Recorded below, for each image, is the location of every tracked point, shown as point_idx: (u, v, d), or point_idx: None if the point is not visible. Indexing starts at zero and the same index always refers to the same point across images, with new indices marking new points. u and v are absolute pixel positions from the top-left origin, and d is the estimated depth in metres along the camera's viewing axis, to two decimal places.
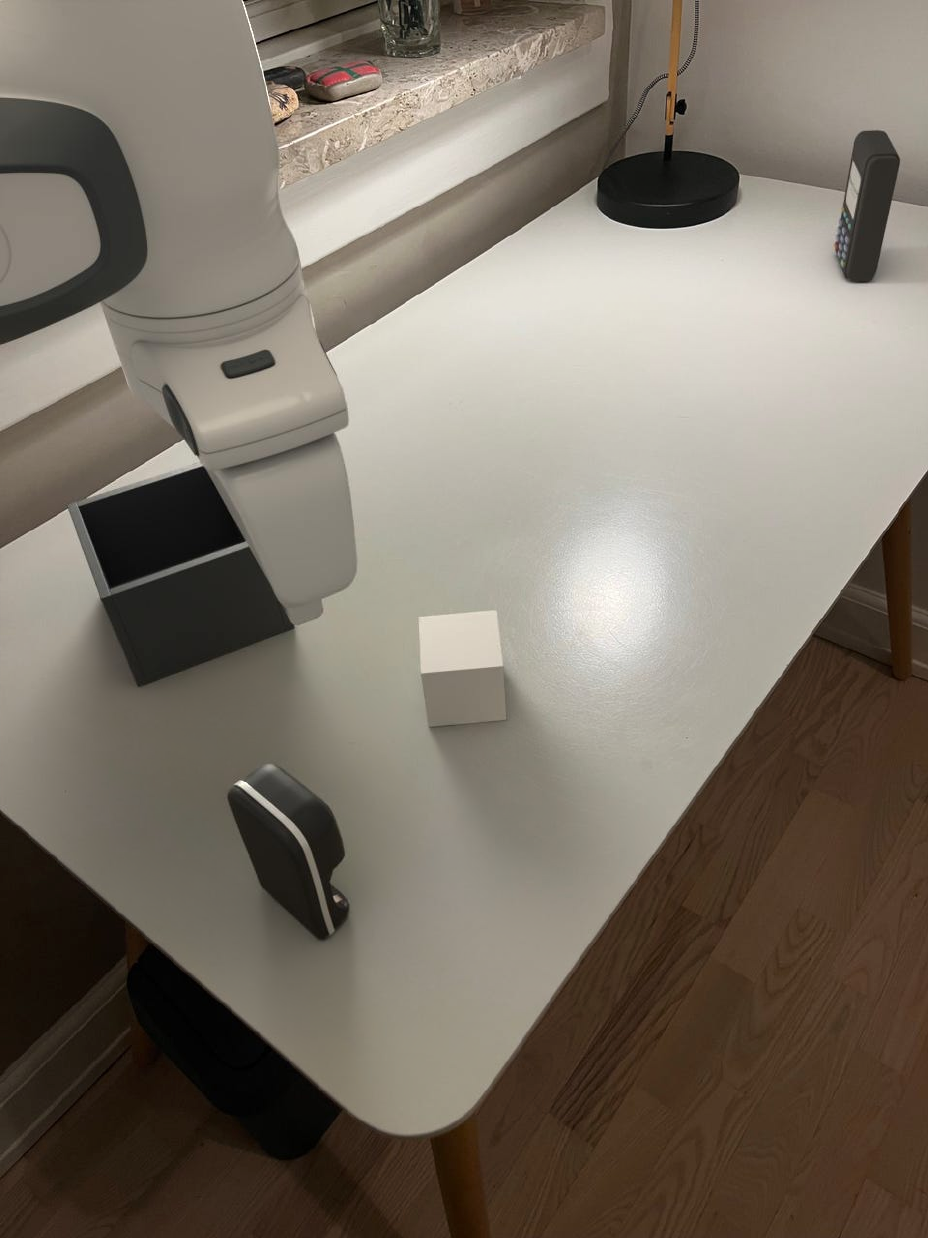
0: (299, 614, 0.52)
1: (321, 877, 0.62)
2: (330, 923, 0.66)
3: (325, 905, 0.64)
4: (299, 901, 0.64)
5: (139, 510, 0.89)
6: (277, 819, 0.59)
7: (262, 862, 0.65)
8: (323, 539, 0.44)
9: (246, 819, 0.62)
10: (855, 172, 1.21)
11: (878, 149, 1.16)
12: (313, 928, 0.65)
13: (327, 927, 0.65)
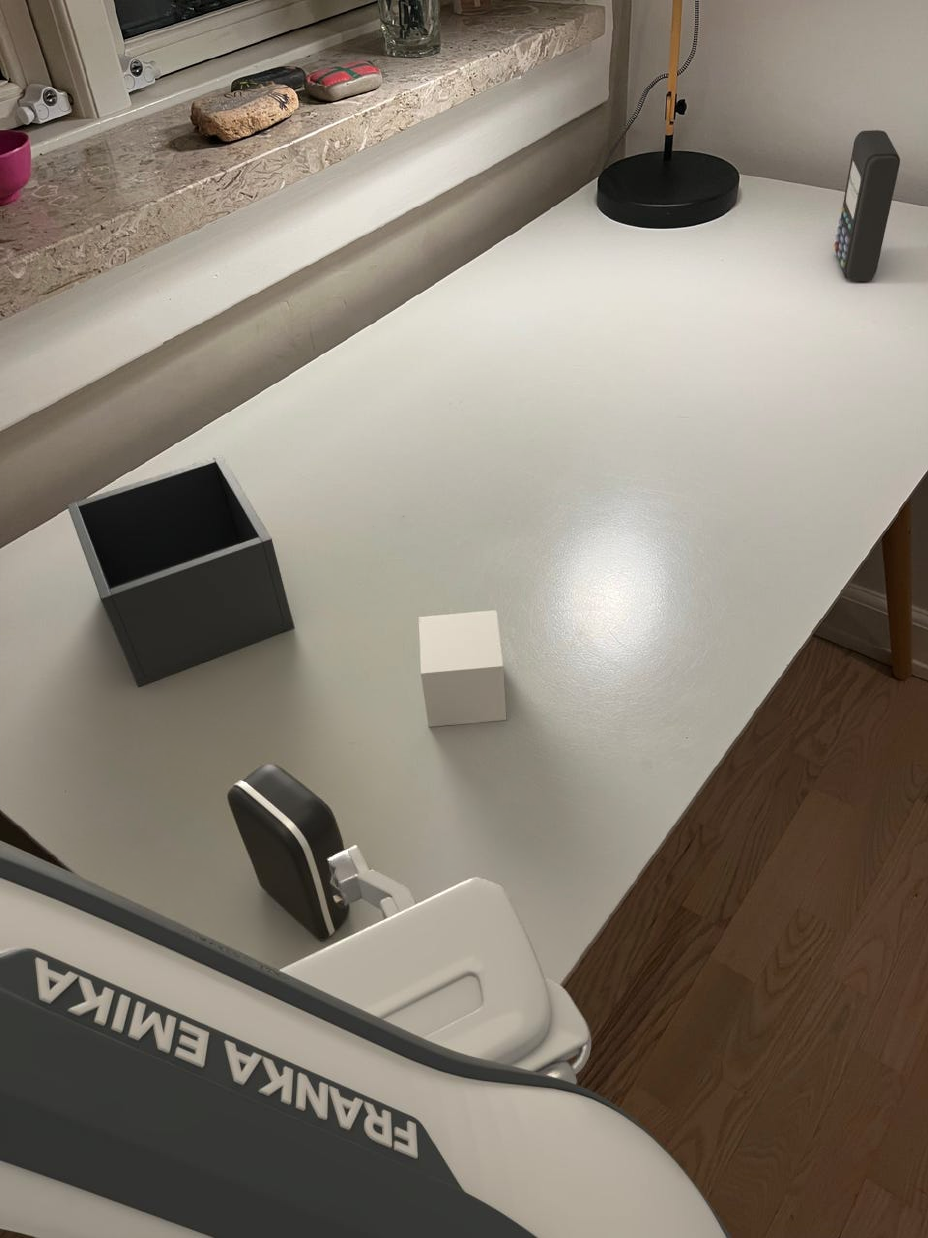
0: None
1: (321, 877, 0.62)
2: (330, 923, 0.66)
3: (325, 905, 0.64)
4: (299, 901, 0.64)
5: (139, 510, 0.89)
6: (277, 819, 0.59)
7: (262, 862, 0.65)
8: None
9: (246, 819, 0.62)
10: (855, 172, 1.21)
11: (878, 149, 1.16)
12: (313, 928, 0.65)
13: (327, 927, 0.65)
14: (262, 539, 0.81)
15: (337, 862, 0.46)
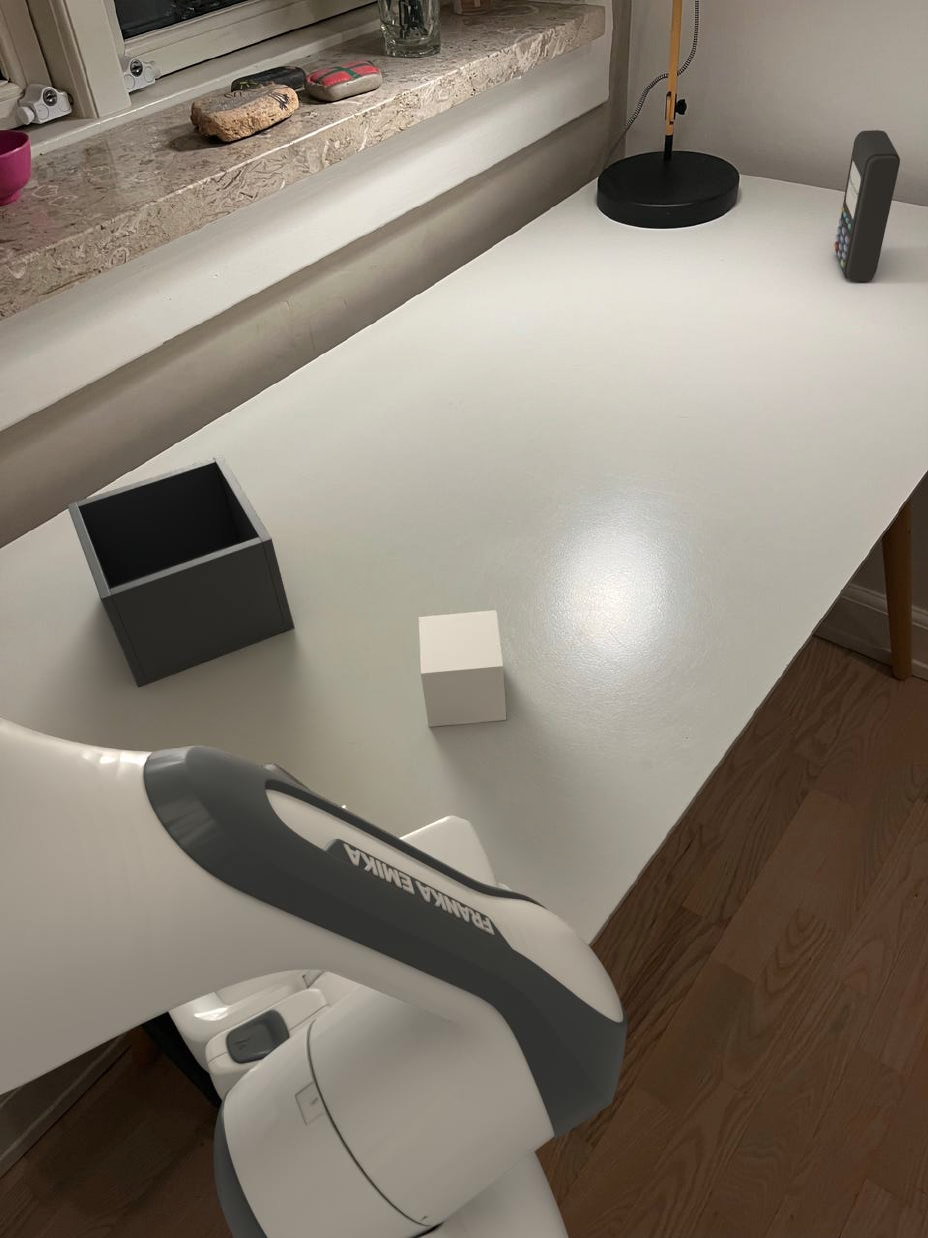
0: None
1: None
2: None
3: None
4: None
5: (139, 510, 0.89)
6: None
7: None
8: None
9: None
10: (855, 172, 1.21)
11: (878, 149, 1.16)
12: None
13: None
14: (262, 539, 0.81)
15: None
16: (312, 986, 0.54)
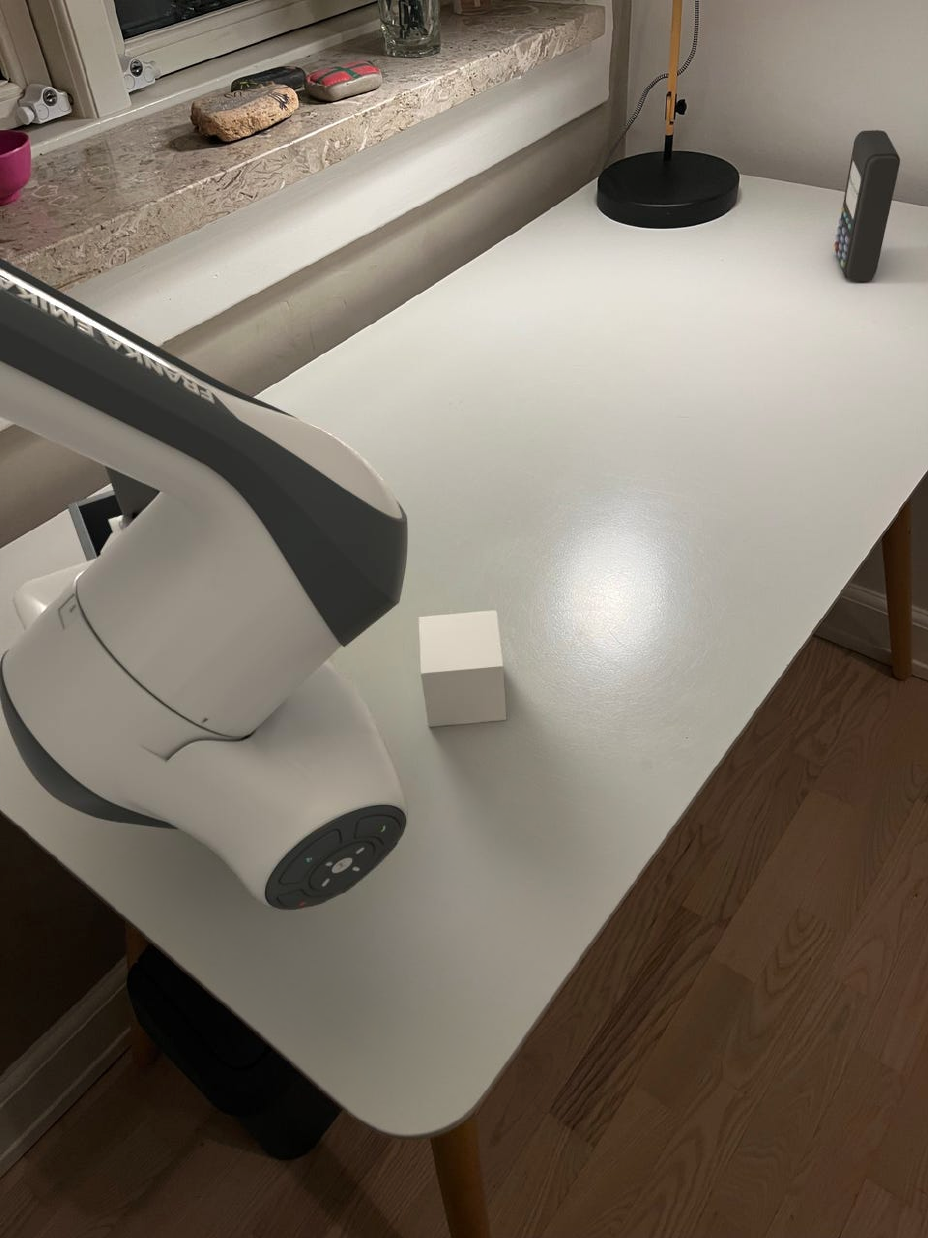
0: None
1: None
2: None
3: None
4: None
5: None
6: None
7: None
8: None
9: (120, 476, 0.61)
10: (855, 172, 1.21)
11: (878, 149, 1.16)
12: None
13: None
14: None
15: None
16: None
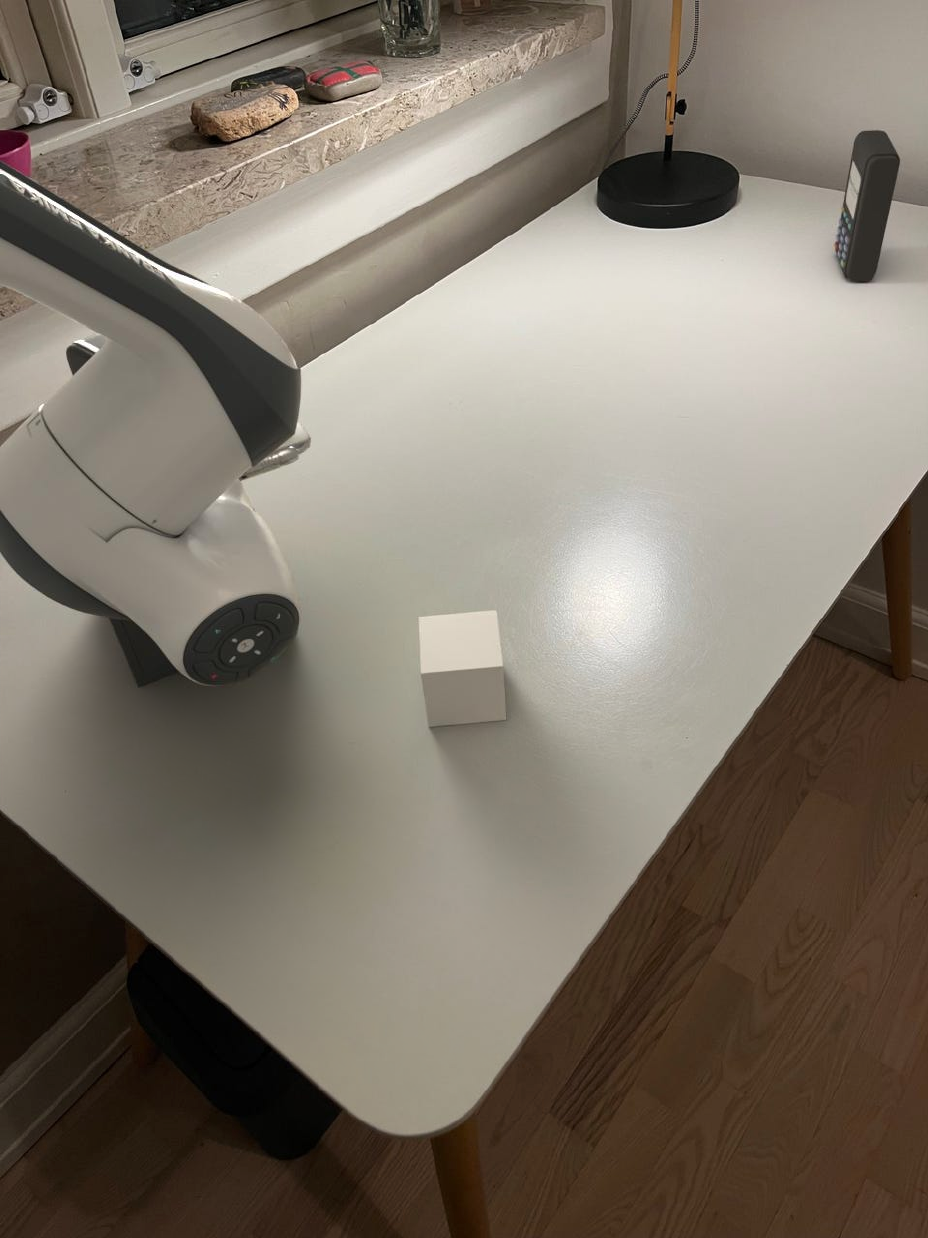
0: None
1: None
2: None
3: None
4: None
5: None
6: None
7: None
8: None
9: None
10: (855, 172, 1.21)
11: (878, 149, 1.16)
12: None
13: None
14: None
15: None
16: None
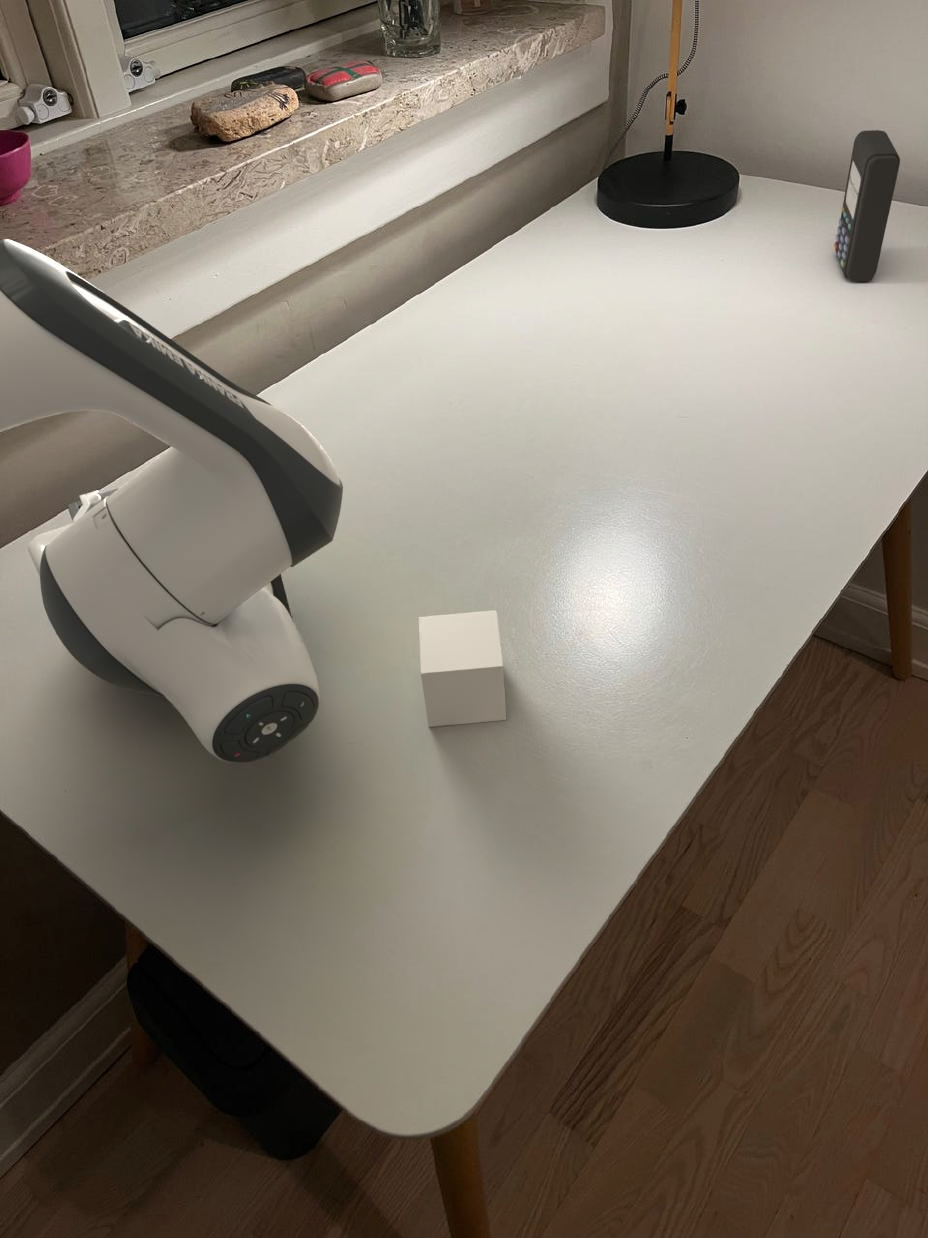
0: None
1: None
2: None
3: None
4: None
5: None
6: None
7: None
8: None
9: None
10: (855, 172, 1.21)
11: (878, 149, 1.16)
12: None
13: None
14: None
15: None
16: None
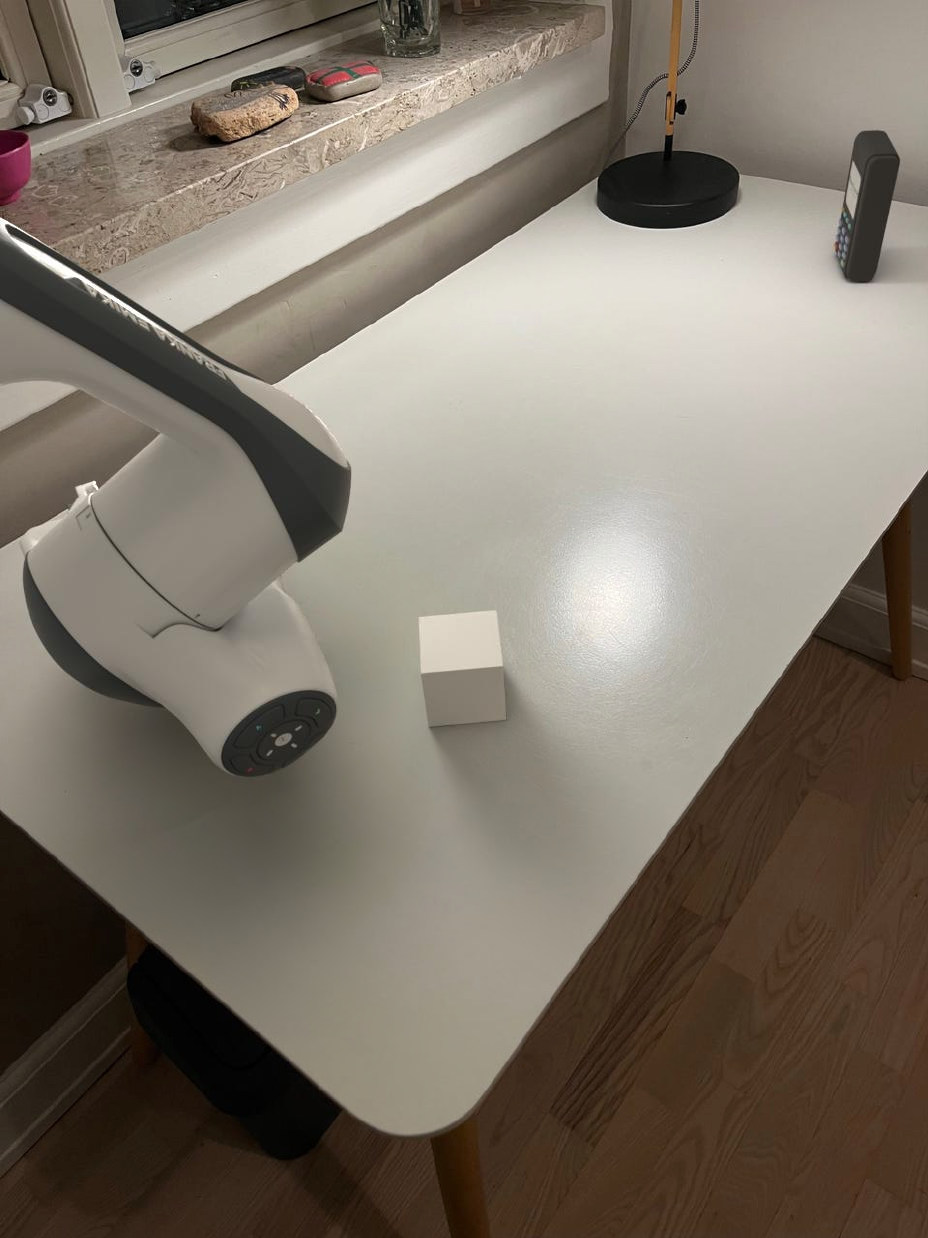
0: None
1: None
2: None
3: None
4: None
5: None
6: None
7: None
8: None
9: None
10: (855, 172, 1.21)
11: (878, 149, 1.16)
12: None
13: None
14: None
15: None
16: None
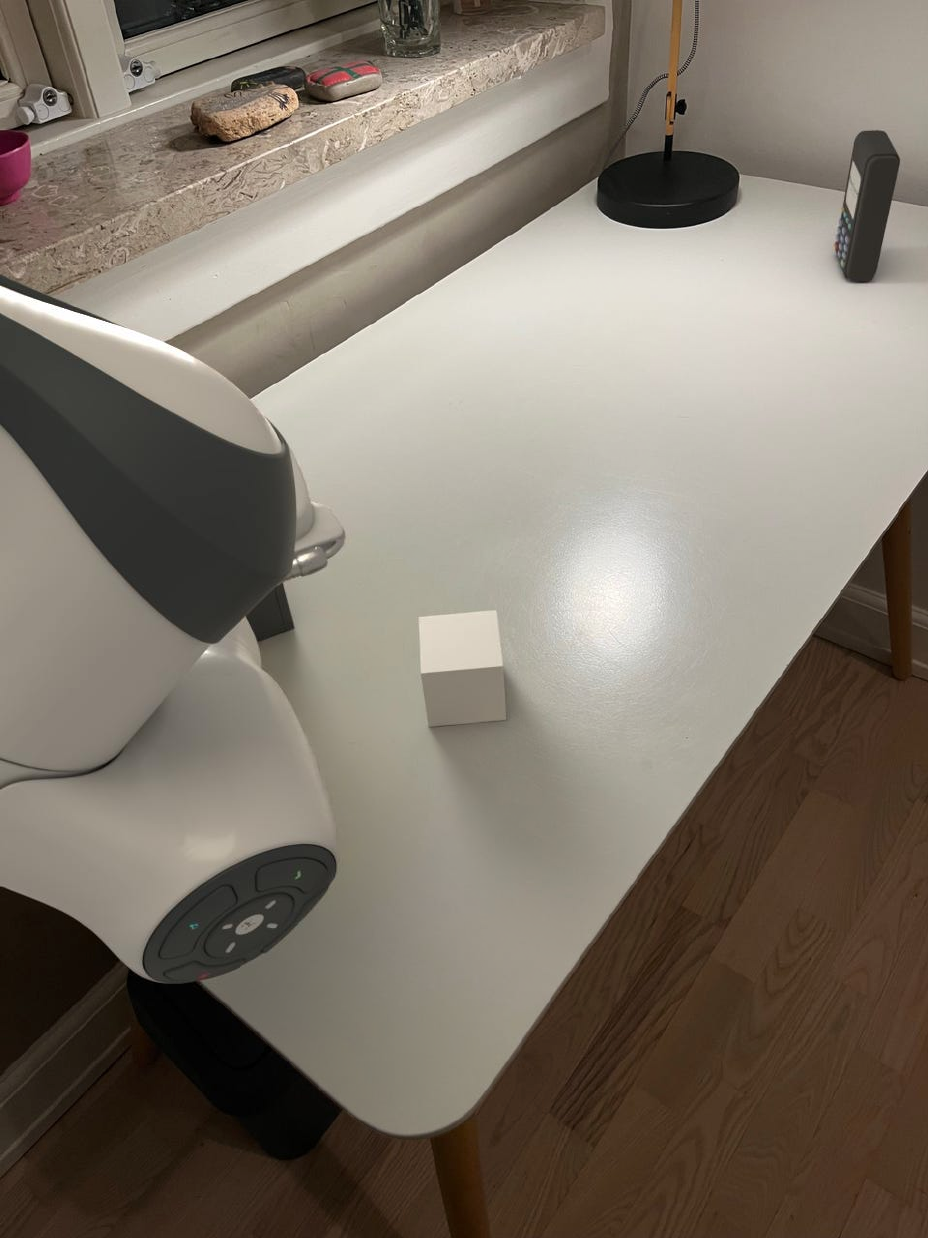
0: None
1: None
2: None
3: None
4: None
5: None
6: None
7: None
8: None
9: None
10: (855, 172, 1.21)
11: (878, 149, 1.16)
12: None
13: None
14: None
15: None
16: None
